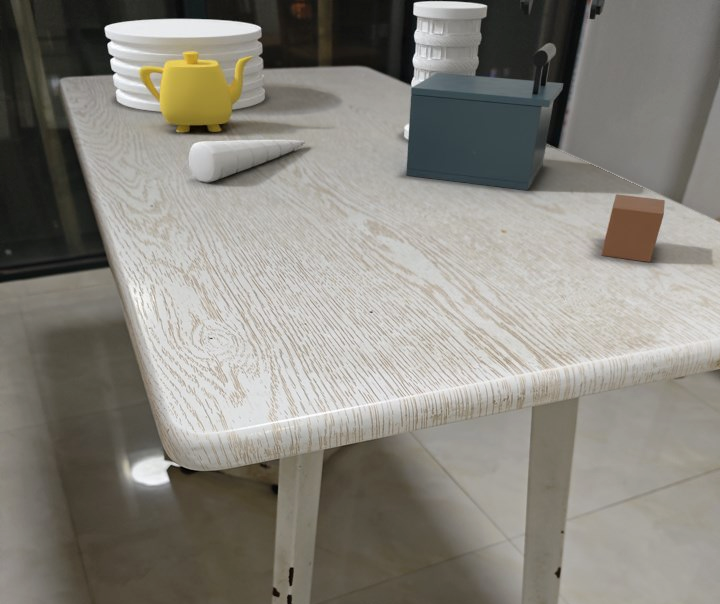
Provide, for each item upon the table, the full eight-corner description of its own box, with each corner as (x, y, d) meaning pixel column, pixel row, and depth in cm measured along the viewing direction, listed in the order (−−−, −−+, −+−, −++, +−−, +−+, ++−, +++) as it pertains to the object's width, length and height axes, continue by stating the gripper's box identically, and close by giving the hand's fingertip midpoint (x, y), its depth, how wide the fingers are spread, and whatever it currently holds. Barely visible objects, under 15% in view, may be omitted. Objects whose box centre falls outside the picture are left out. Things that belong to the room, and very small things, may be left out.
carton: (651, 246, 77) (664, 199, 74) (650, 262, 74) (663, 214, 71) (604, 240, 79) (616, 193, 76) (601, 255, 75) (612, 207, 72)
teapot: (254, 118, 123) (250, 47, 116) (259, 133, 114) (255, 57, 108) (148, 120, 120) (137, 47, 113) (145, 135, 111) (133, 57, 105)
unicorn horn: (325, 150, 107) (324, 115, 104) (214, 186, 91) (210, 146, 88) (300, 145, 109) (299, 110, 106) (188, 180, 93) (183, 141, 90)
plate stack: (119, 85, 144) (107, 18, 137) (256, 83, 149) (252, 18, 142) (114, 114, 123) (100, 37, 116) (274, 110, 128) (270, 36, 121)
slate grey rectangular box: (542, 166, 102) (555, 89, 96) (527, 190, 93) (541, 107, 87) (430, 153, 107) (436, 79, 100) (406, 175, 97) (410, 95, 91)
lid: (562, 89, 96) (570, 41, 92) (548, 107, 86) (557, 54, 83) (436, 79, 100) (440, 32, 97) (410, 94, 91) (413, 43, 87)
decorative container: (408, 145, 110) (416, 7, 99) (400, 128, 119) (406, 0, 108) (481, 146, 111) (497, 9, 100) (467, 129, 120) (481, 1, 109)
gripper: (534, -127, 91) (503, -14, 90) (648, -126, 87) (619, -9, 86) (533, -75, 98) (505, 31, 97) (639, -72, 95) (612, 37, 93)
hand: (559, 12), depth 92 cm, fingers open, 8 cm apart
